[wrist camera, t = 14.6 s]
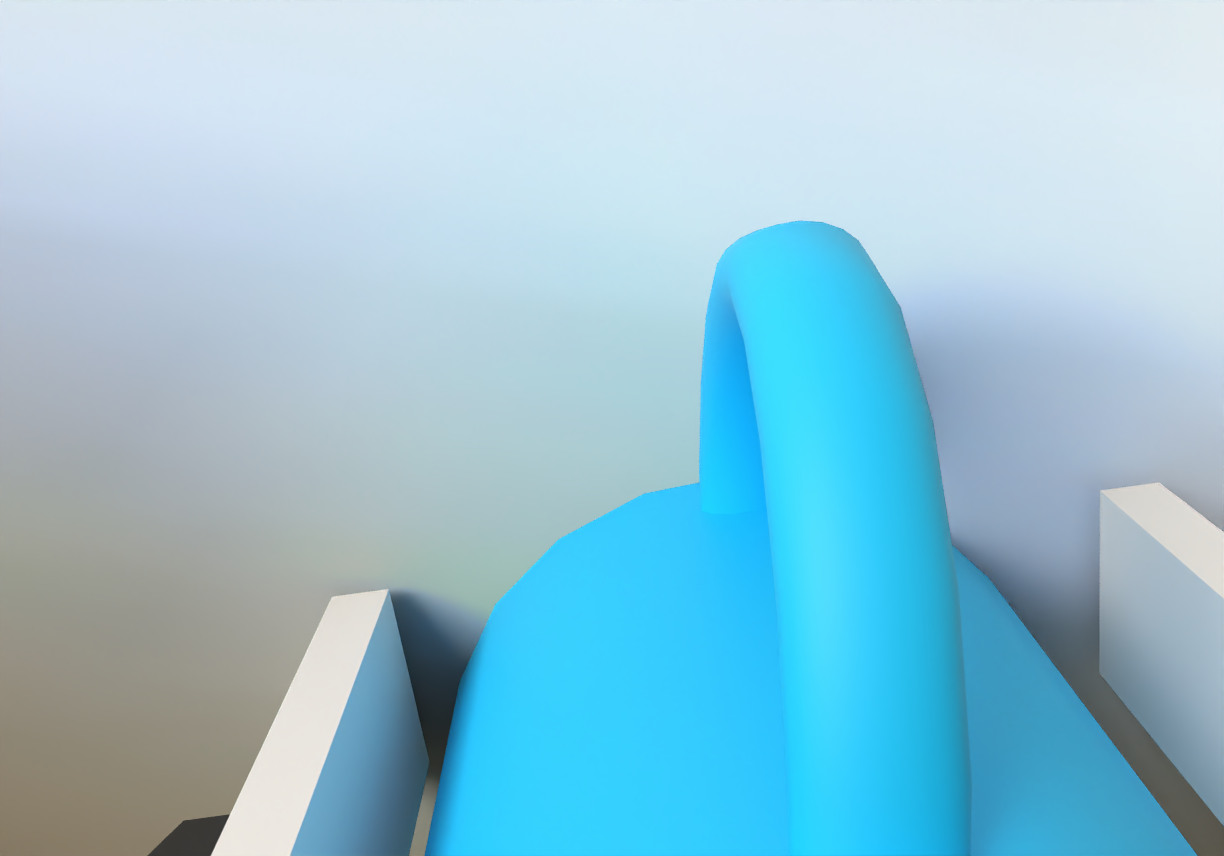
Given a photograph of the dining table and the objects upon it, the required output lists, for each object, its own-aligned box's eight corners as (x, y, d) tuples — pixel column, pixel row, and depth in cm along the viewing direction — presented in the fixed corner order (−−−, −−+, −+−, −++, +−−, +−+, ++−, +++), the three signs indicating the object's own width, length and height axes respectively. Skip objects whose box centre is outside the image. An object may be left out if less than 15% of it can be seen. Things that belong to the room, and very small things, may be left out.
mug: (1010, 953, 17) (1367, 1716, 9) (479, 982, 17) (388, 1771, 9) (1084, 151, 13) (1813, 308, 5) (390, 187, 13) (98, 396, 5)
